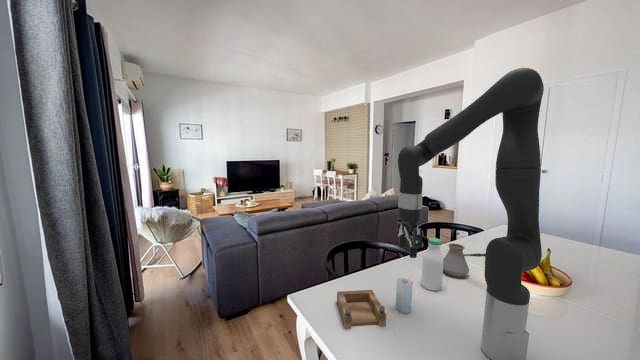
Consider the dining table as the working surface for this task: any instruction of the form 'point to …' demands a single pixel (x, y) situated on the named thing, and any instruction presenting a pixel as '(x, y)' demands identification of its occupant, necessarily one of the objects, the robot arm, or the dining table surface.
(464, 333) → the dining table surface
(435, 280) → the milk bottle
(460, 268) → the coffee pot
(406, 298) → the cylinder
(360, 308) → the holder
